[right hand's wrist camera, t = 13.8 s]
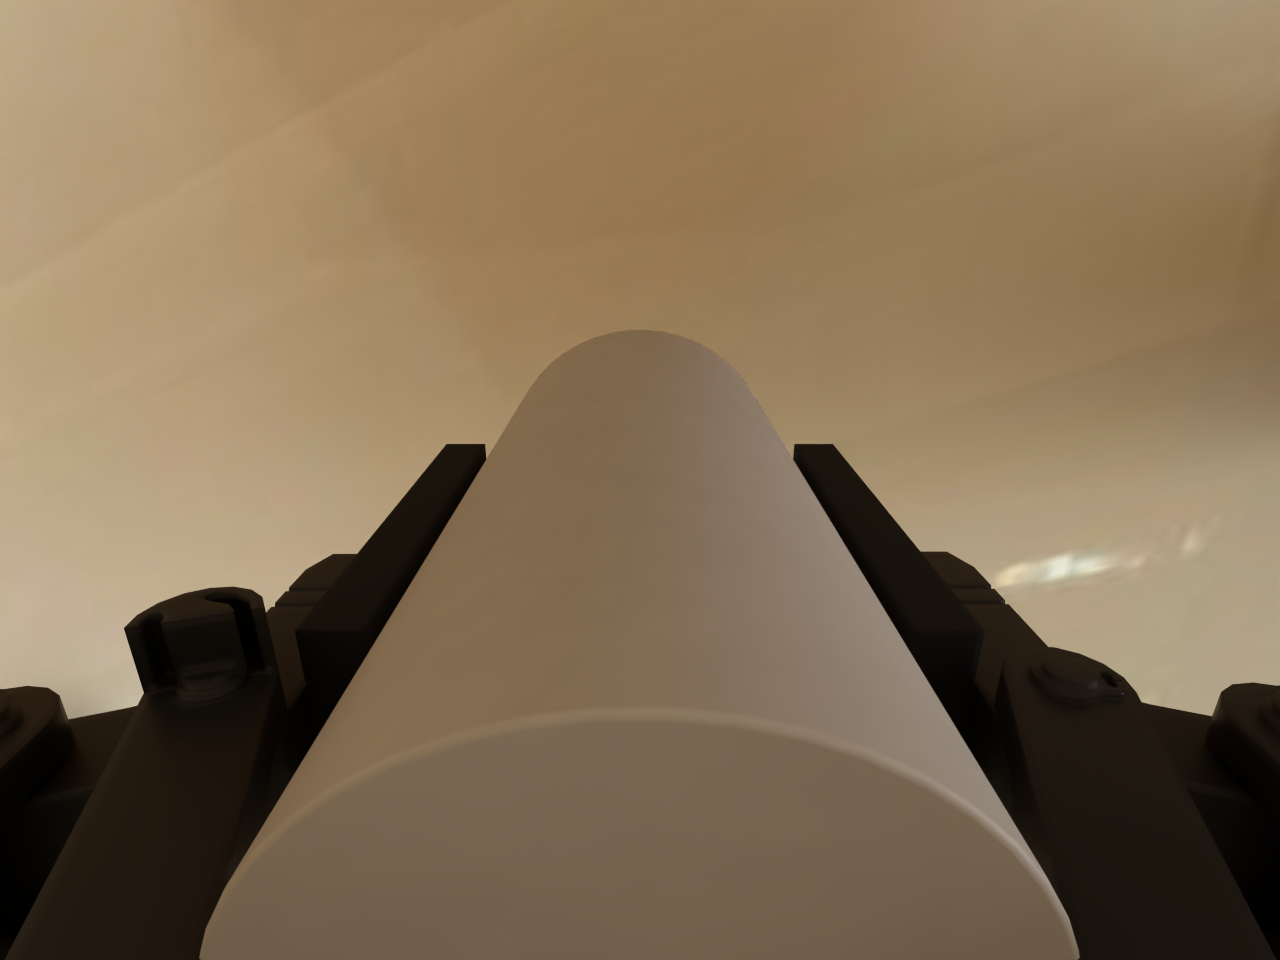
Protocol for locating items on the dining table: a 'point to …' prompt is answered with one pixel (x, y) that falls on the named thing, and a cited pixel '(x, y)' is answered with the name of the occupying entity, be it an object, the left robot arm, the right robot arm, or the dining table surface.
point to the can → (639, 721)
